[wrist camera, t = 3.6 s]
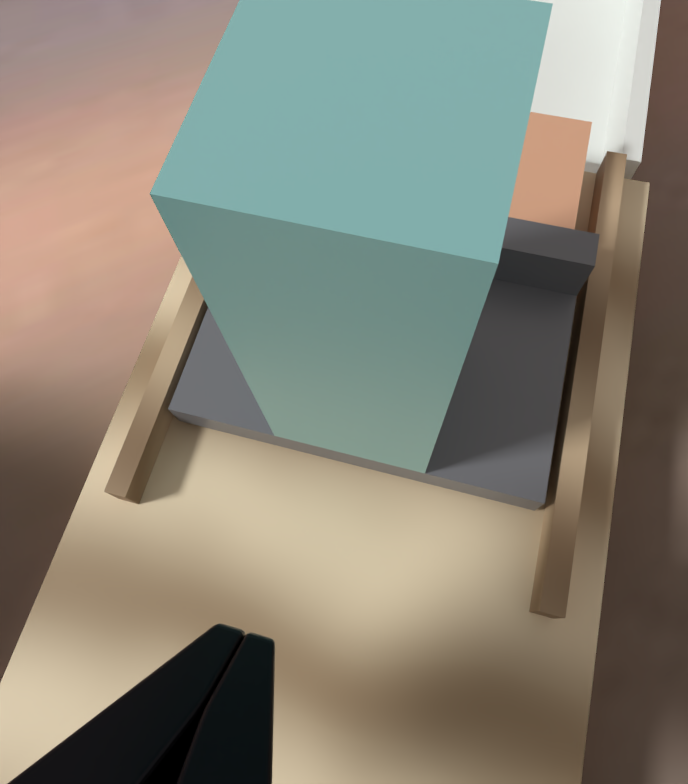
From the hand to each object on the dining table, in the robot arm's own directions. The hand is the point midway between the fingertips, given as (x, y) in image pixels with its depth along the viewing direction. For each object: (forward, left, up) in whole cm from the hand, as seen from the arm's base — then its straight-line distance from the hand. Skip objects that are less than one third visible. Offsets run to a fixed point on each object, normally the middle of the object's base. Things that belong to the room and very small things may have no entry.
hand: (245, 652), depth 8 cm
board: (+4, -4, -10) cm, 11 cm away
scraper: (+6, -6, -7) cm, 11 cm away
